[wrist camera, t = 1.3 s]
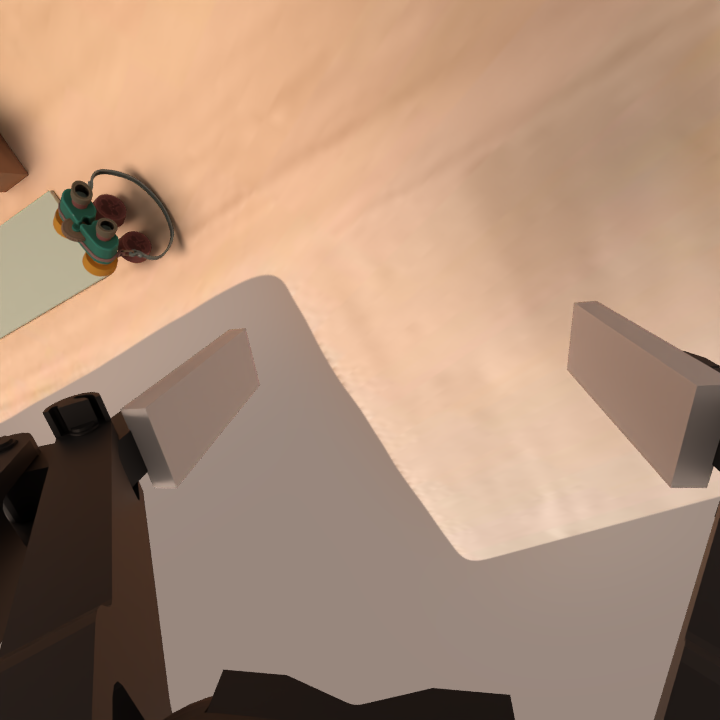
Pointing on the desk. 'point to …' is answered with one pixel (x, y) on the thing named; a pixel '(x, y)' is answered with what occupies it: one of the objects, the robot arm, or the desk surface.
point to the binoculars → (102, 226)
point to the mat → (37, 265)
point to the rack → (9, 167)
